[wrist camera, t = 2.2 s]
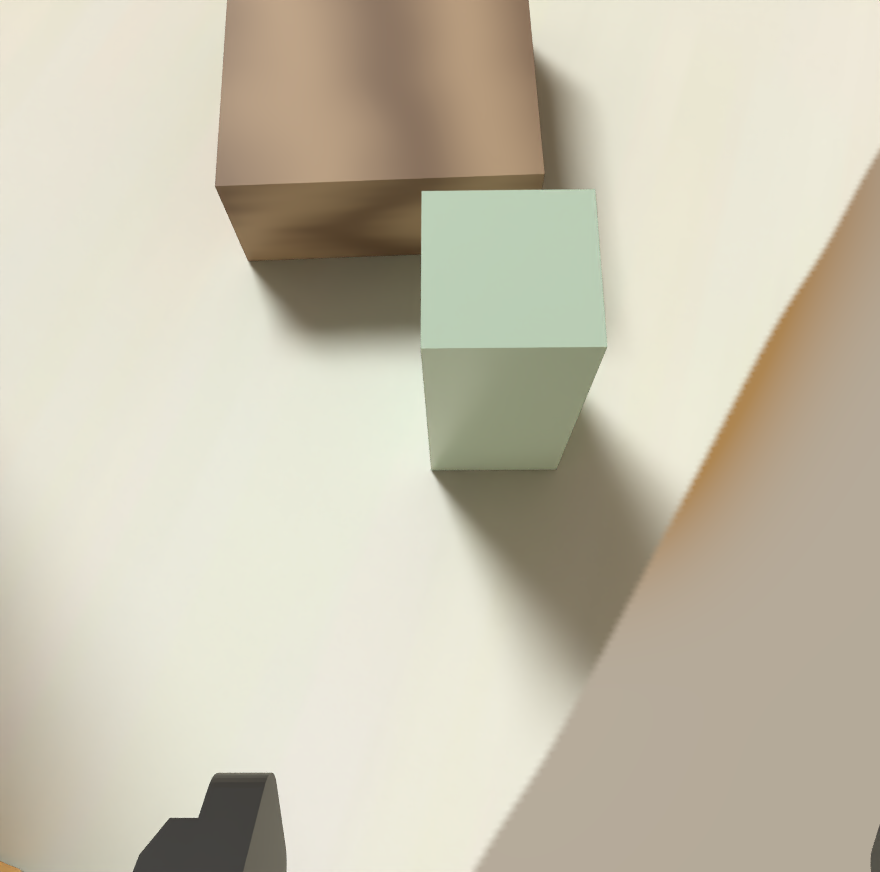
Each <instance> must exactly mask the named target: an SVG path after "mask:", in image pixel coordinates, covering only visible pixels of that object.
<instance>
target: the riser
mask: <svg viewBox="0 0 880 872" xmlns="http://www.w3.org/2000/svg"><path fill="white" fill-rule="evenodd" d="M544 175H545V172H544V162H543V151H542V140H541V129H540V119H539V108H538V97H537V86H536V76H535V65H534V54H533V44H532V33H531V22H530V11H529V1H528V0H227V11H226V26H225V41H224V57H223V72H222V87H221V103H220V118H219V133H218V149H217V164H216V179H215V187H216V190H217V192H218V194H219V196H220V199H221V201H222V203H223V205H224V208H225V210H226V212H227V214H228V217H229V219H230V221H231V223H232V226H233V228H234V230H235V232H236V235H237V237H238V239H239V242H240V244H241V246H242V248H243V251H244V253H245V255H246V257H247V260H248V261H262V260H288V259H314V258H341V257H367V256H393V255H419V254H421V204H422V191H472V190H542V186H543V180H544Z"/></svg>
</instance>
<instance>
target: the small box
mask: <svg viewBox="0 0 880 872" xmlns="http://www.w3.org/2000/svg"><path fill="white" fill-rule="evenodd" d="M0 872H23V871H22V870H20V869H18V868H16V867H13V866H10V865H8V864H5V863H3V862H1V861H0Z"/></svg>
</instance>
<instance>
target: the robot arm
mask: <svg viewBox="0 0 880 872" xmlns="http://www.w3.org/2000/svg"><path fill="white" fill-rule="evenodd" d="M286 865H287V864H286V847H285V840H284V833H283V826H282V819H281V812H280V805H279V798H278V791H277V784H276V779H275V776H274V774H273V773H216V774H215V775H214V776H213V778H212V780H211V782H210V784H209V787H208V790H207V793H206V796H205V799H204V802H203V805H202V808H201V811H200V814H199V817H198V818H169V820H168V821H167V822H166V823H165V824H164V826H163V827H162V828H161V829H160V830H159V832H158V833H157V834H156V835H155V836H154V838H153V839H152V840H151V841H150V843H149V844H148V845H147V846H146V847H145V849H144V850H143V851H142V852H141V853H140V855H139V857H138V860H137V862H136V865H135V867H134V870H133V872H286ZM871 872H880V826H879V829H878V832H877V835H876V839H875V842H874V845H873V848H872V853H871Z"/></svg>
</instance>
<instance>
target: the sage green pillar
mask: <svg viewBox="0 0 880 872" xmlns="http://www.w3.org/2000/svg"><path fill="white" fill-rule="evenodd" d="M606 349H607V337H606V324H605V311H604V298H603V285H602V272H601V259H600V246H599V233H598V220H597V207H596V194H595V189H561V190H472V191H422V204H421V358H422V370H423V381H424V393H425V404H426V416H427V427H428V439H429V450H430V462H431V470H556V469H557V467H558V464H559V462H560V459H561V457H562V455H563V452H564V450H565V447H566V445H567V442H568V440H569V438H570V435H571V433H572V430H573V428H574V426H575V423H576V421H577V418H578V416H579V414H580V411H581V409H582V406H583V404H584V402H585V399H586V397H587V394H588V392H589V390H590V387H591V385H592V382H593V380H594V378H595V375H596V373H597V370H598V368H599V366H600V363H601V361H602V358H603V356H604V354H605V351H606Z"/></svg>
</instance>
